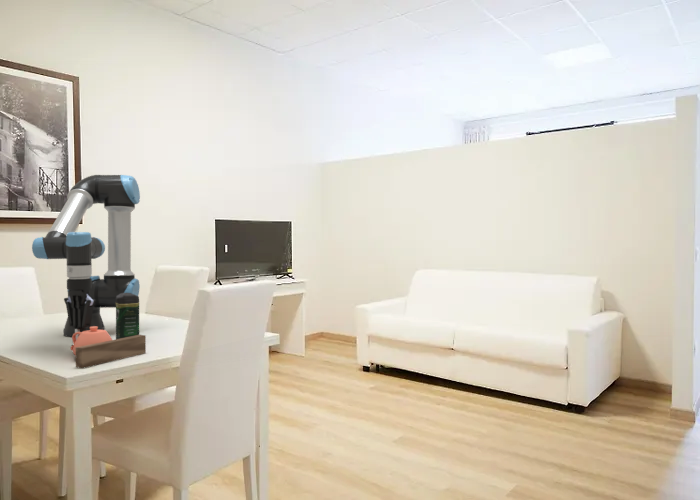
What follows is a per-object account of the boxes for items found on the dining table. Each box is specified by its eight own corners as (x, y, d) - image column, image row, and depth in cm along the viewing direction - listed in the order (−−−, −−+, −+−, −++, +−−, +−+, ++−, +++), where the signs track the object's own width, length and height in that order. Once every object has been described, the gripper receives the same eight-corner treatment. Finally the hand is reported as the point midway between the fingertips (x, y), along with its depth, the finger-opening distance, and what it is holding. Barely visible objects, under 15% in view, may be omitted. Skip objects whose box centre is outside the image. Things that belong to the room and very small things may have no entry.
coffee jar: (141, 343, 200) (141, 293, 200) (118, 345, 196) (118, 294, 195) (136, 339, 208) (135, 291, 208) (114, 341, 204) (113, 292, 203)
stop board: (75, 367, 164) (75, 347, 164) (139, 352, 185) (139, 334, 185) (82, 368, 162) (82, 348, 162) (145, 352, 184) (145, 335, 184)
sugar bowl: (101, 362, 170) (100, 330, 169) (59, 361, 171) (59, 329, 171) (121, 354, 182) (121, 323, 182) (82, 353, 183) (82, 323, 183)
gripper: (56, 277, 180) (57, 348, 181) (82, 279, 174) (83, 352, 175) (76, 276, 187) (77, 343, 188) (102, 277, 181) (103, 347, 182)
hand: (80, 347), depth 181 cm, fingers closed
